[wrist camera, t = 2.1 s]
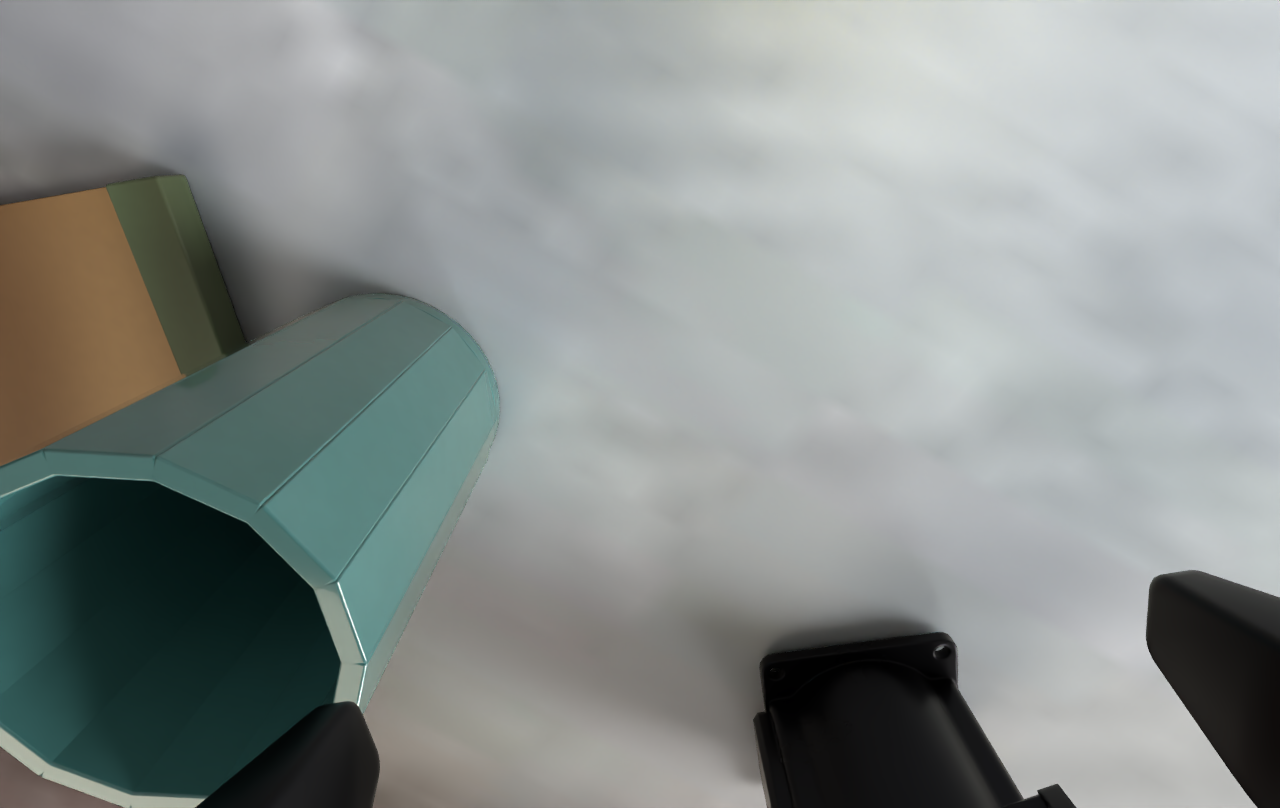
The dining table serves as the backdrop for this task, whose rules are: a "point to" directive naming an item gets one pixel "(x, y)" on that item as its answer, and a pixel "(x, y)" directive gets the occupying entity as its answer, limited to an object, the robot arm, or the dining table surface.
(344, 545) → the cup
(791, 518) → the dining table surface
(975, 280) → the dining table surface
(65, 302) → the cork mat
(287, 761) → the robot arm
